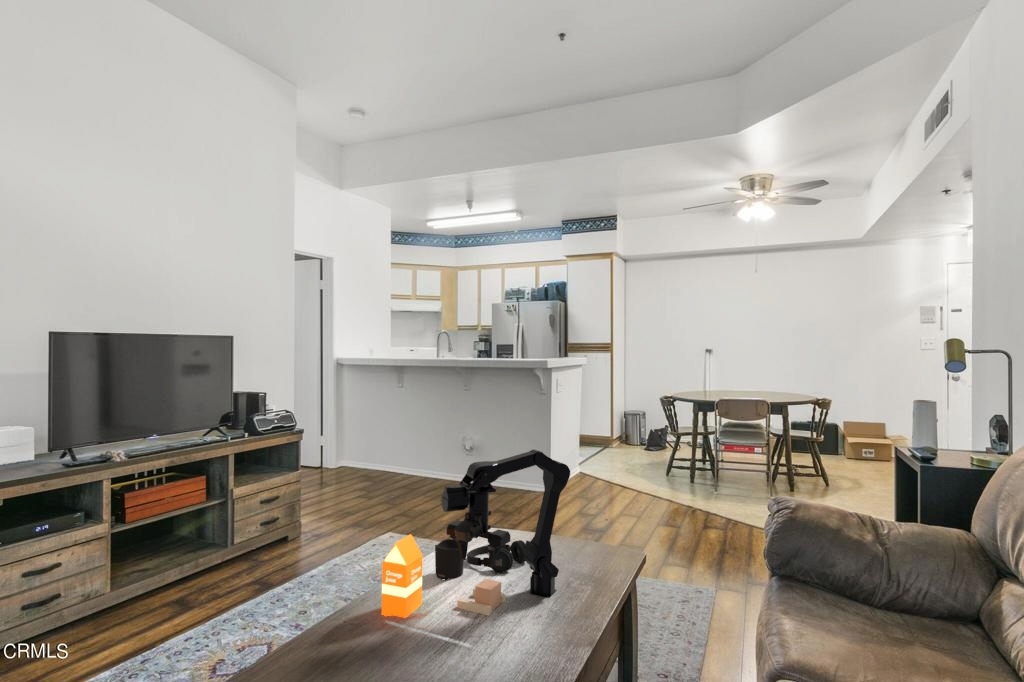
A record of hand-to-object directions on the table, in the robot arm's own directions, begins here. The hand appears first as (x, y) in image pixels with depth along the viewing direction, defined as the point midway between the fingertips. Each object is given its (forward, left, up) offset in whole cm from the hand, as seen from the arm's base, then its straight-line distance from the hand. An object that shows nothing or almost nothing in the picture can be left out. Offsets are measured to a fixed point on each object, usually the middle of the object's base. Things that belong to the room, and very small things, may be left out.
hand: (477, 563), depth 160 cm
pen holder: (+19, -15, -12) cm, 27 cm away
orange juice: (+17, +12, -12) cm, 24 cm away
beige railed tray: (+3, -1, -12) cm, 12 cm away
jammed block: (-3, -1, -11) cm, 12 cm away
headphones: (+11, -32, -13) cm, 36 cm away
